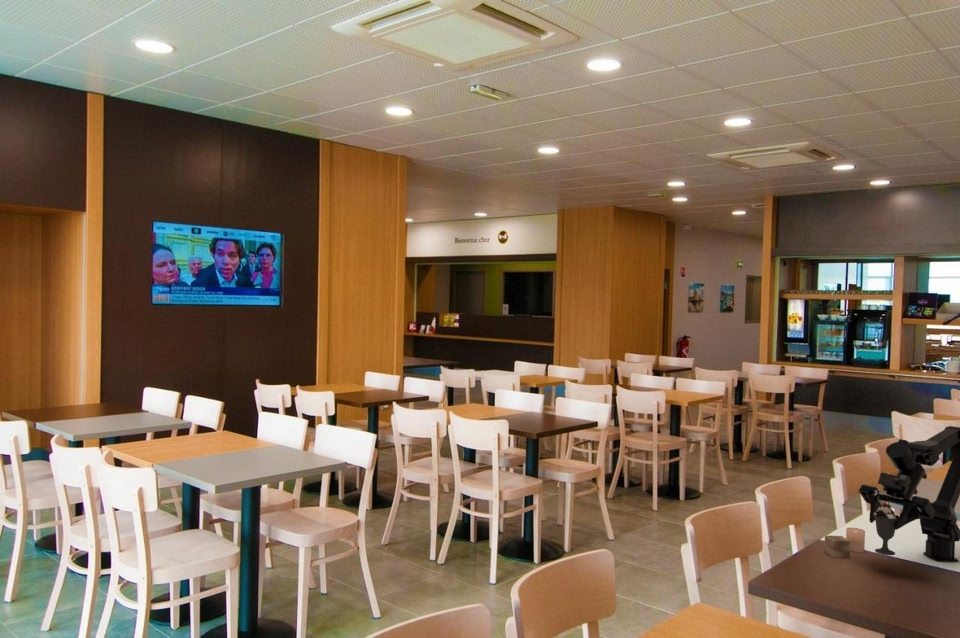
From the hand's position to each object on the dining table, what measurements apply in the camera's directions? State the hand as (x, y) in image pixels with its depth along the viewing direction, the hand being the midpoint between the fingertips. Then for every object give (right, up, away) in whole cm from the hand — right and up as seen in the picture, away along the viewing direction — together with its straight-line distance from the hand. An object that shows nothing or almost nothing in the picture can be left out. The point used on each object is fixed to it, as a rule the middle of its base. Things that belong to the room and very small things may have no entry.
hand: (882, 525), depth 198 cm
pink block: (+3, -13, +20) cm, 24 cm away
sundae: (+1, -8, +1) cm, 8 cm away
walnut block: (-5, -13, +15) cm, 21 cm away
